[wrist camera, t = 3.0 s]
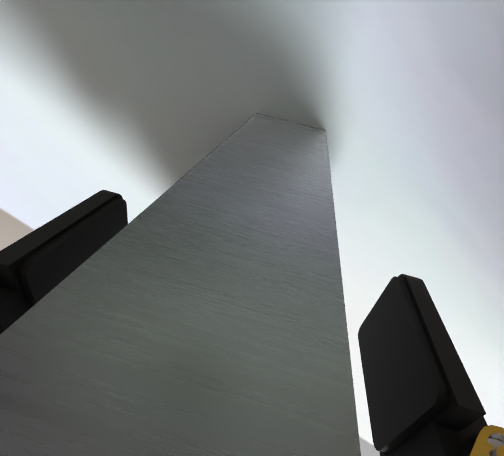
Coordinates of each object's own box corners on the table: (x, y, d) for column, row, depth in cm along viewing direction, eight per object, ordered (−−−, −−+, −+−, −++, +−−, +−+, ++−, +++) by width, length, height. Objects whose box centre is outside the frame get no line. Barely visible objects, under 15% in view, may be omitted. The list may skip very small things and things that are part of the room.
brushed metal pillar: (325, 131, 11) (381, 646, 1) (278, 271, 16) (209, 641, 6) (256, 113, 12) (-137, 452, 2) (228, 257, 16) (77, 591, 6)
